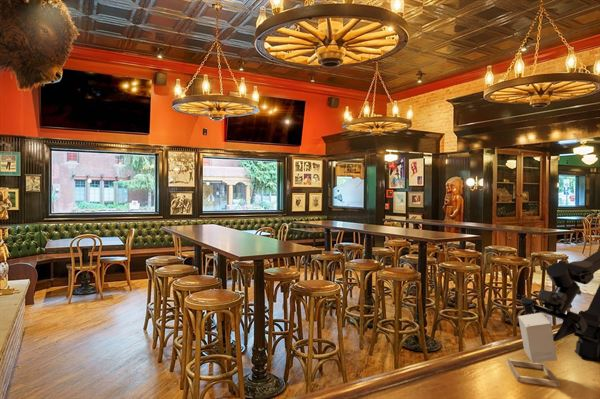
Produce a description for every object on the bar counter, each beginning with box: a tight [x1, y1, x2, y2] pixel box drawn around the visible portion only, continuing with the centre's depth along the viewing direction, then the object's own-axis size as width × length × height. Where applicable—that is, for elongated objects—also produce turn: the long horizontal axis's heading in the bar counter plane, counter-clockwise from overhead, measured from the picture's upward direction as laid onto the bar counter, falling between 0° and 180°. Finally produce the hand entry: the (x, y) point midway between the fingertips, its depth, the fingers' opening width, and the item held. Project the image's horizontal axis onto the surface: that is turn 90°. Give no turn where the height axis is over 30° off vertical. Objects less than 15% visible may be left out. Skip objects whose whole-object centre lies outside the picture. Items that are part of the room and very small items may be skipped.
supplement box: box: [517, 312, 558, 363], centre depth 129 cm, size 7×7×13 cm
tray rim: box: [505, 358, 561, 388], centre depth 129 cm, size 12×12×2 cm
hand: (538, 334), depth 129 cm, fingers closed on supplement box, 9 cm apart
